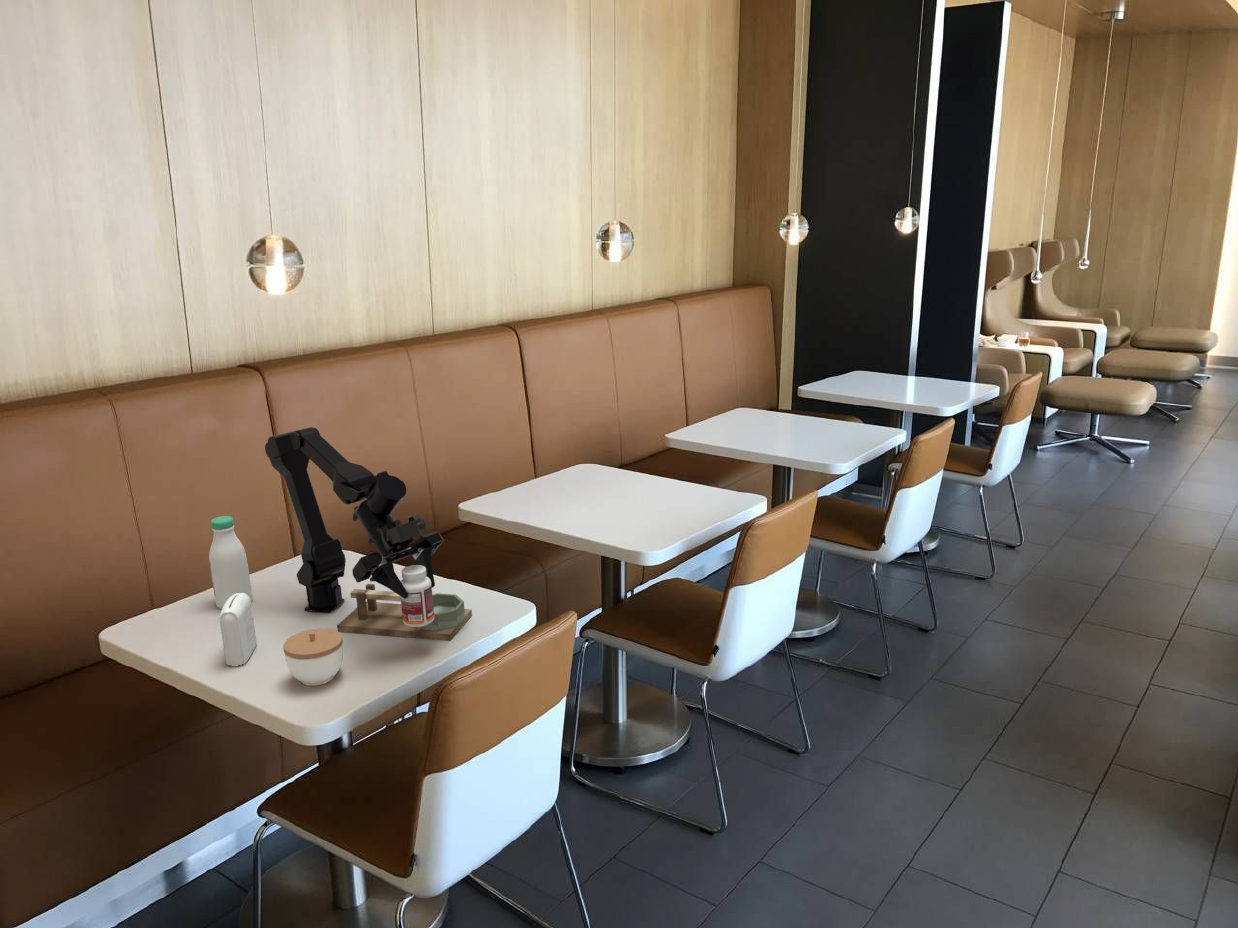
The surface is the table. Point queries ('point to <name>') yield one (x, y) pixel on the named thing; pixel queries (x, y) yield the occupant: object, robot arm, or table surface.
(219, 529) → the milk bottle
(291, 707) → the table surface
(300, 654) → the lidded jar
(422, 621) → the pill bottle
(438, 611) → the catapult arm
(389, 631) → the catapult base
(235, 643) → the photo printer
